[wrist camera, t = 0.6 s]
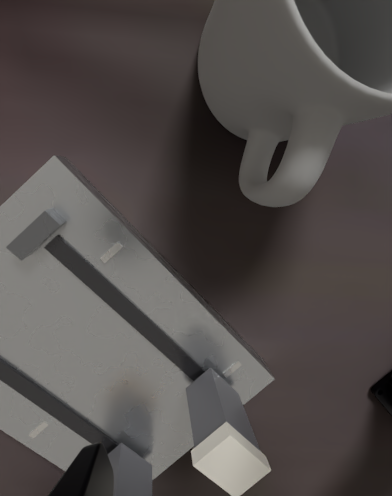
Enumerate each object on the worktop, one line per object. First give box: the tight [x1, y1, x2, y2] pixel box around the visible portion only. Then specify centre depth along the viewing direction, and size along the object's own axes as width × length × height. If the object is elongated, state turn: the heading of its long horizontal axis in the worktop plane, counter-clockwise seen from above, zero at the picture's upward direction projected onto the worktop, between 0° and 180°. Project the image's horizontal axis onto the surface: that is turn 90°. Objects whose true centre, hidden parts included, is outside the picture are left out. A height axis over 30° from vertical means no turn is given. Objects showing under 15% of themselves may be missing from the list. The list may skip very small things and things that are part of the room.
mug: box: [198, 0, 392, 207], centre depth 13 cm, size 12×8×11 cm
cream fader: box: [186, 367, 271, 496], centre depth 17 cm, size 3×2×5 cm
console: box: [0, 155, 275, 480], centre depth 19 cm, size 20×15×3 cm
